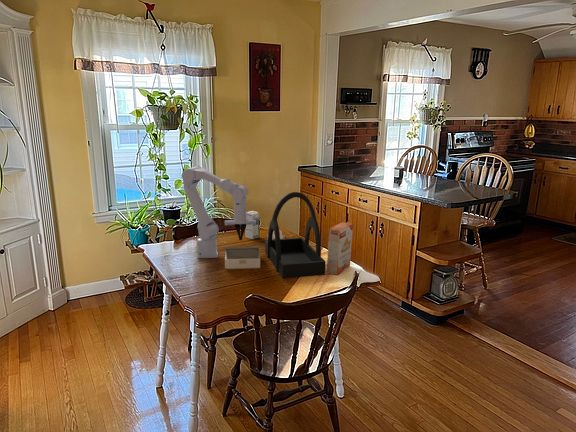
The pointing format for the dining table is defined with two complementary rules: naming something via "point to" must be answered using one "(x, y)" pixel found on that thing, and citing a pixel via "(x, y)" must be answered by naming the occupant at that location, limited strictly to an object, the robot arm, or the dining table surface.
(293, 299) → the dining table surface
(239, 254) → the box
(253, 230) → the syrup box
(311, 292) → the dining table surface
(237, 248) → the lid
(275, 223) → the basket
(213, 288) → the dining table surface
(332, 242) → the cracker box
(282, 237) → the packaged product
